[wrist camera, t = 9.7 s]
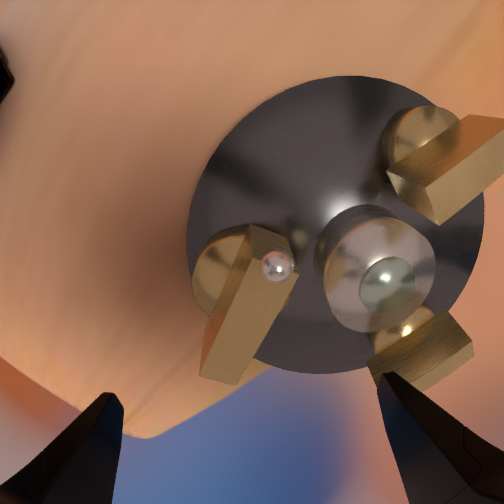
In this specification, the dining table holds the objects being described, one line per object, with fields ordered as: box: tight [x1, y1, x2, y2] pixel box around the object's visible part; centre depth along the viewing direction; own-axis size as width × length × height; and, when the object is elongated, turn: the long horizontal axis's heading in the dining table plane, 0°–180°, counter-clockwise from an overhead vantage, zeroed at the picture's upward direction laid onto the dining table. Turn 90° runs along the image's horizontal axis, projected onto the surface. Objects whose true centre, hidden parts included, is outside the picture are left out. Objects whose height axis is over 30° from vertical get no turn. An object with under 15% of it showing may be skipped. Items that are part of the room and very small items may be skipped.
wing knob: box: [192, 224, 300, 385], centre depth 14 cm, size 7×5×6 cm
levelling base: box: [187, 76, 504, 392], centre depth 15 cm, size 20×20×7 cm
